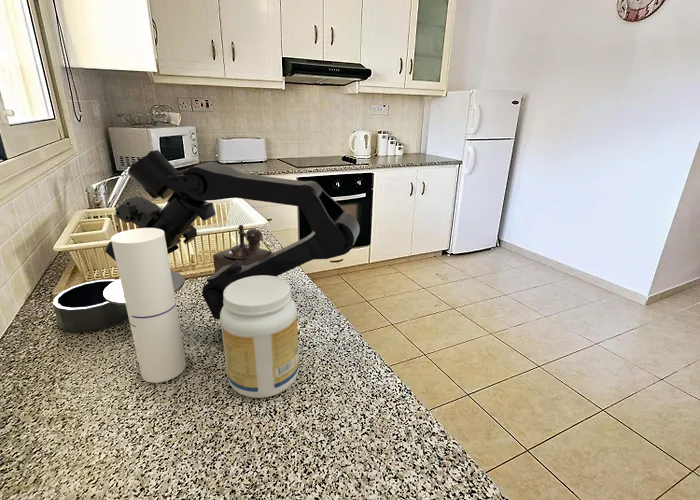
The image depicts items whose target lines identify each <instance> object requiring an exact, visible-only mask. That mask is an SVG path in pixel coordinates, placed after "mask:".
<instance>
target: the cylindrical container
mask: <svg viewBox="0 0 700 500" xmlns="http://www.w3.org/2000/svg"><path fill="white" fill-rule="evenodd" d="M137 228H138V227H137ZM137 228H133V229H127V230H123V231H119V232H117V233H115V234H113V235H112V236H111V237H110V241H112V245H113V250H114V254H115V259H116V261H115V263H116V267H117V271H118V277H119V279H120V281H121V286H122V290H123V295H124V299H125V304H126V308H127V313H128V317H127V318H128V321H129V326H130V331H131V336H132V340H133V343H134V344H133V345H134V349H135V353H136V357H137V362H138V366H139V371H140V375H141V378H142V380H144V381H145V382H147V383H153V384H158V383H165V382H168V381H170V380H173V379H175V378H176V377H178V376H180V375H181V374H182V373H183V372H184V371H185V369H186V367H187V361H186V356H185V355H186V354H185V349H184V343H183V342H184V341H183V336H182V331H181V325H180V319H179V313H178V308H177V307H178V306H177V301H176V296H175V293H174V288H173V282H172V276H171V271H172V269H171V265H170V264H171V263H170V259H169V254H168V252H167V246H166V240H165V234H164V231H163V230H161V229H157V228H138V229H137Z"/></svg>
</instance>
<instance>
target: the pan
mask: <svg viewBox="0 0 700 500" xmlns="http://www.w3.org/2000/svg"><path fill="white" fill-rule="evenodd" d="M117 280H118V279H113V278H110V279H98V280H92V281H87V282H84V283H80V284H77V285H74V286H71V287H69V288H67V289H65V290H62V291H61V292H59V293H58V295H56V296H55V297H54V298H53V300H52V307H53V310H54V313H55V316H56V320H57V322H58V326H59V327H60V329H62V330H63V331H65V332H68V333H75V334H81V333H92V332H96V331H97V332H98V331H100V330H105V329H107V328H110V327H113V326H115V325H117V324H119V323H121V322H123V321H124V320H126V319H127V318H129V317H128V313H127V308H126V305H118V304H113V303H110V302H108V301H106V300H105V298H104V296H103V292H104V290H105V288H106V287H107V286H109V285H110V284H111V283H113V282H115V281H117Z"/></svg>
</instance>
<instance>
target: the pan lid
mask: <svg viewBox="0 0 700 500" xmlns="http://www.w3.org/2000/svg"><path fill="white" fill-rule="evenodd" d="M171 276H172V282H173V288H174V294H175V293H177V292H179V291H180V290H181V289H183V287H184V285H185V282H186V280H185V277H184V275H183V274H182V273H179V272H177V271H173V270H171ZM116 280H117V281H115V282H113V283H111V284H110V285H109V286H107V287H106V288H105V290H104V292H103V296H104V298H105V300H106V301H108V302H110V303H113V304H118V305H126V304H125V299H124V295H123V290H122V286H121V281H120V278H119V279H116Z"/></svg>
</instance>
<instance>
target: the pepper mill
mask: <svg viewBox="0 0 700 500" xmlns="http://www.w3.org/2000/svg"><path fill="white" fill-rule="evenodd" d="M237 228H238V231H237V234H238V235H239V244H236V245H234V246H232V247H230V248H227V249H224V250H221V251H219V252H216V253H213V256H212V258H213V259H212V261H213V267H214V273H216V272H217V271H218V270H219V269H221V268H222V267H223V266H228V265H231V264H233V263H234V262H235V261H236V260H238V261H239V263H240V265H241V266H246V265H250V264H252V263H254V262H256V261H258V260H260V259H262V258H264V257H266V256H268V255H270V254H272V251H270V250H267V249H264V248H261V241H262V240H263V233H262V231H261V230H259V229H256V228H251V229H249V230H246V232H245V230H244V225H243V224H239V225H238V226H237ZM244 238H245V239H246V241H247V243H245V240H244Z"/></svg>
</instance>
